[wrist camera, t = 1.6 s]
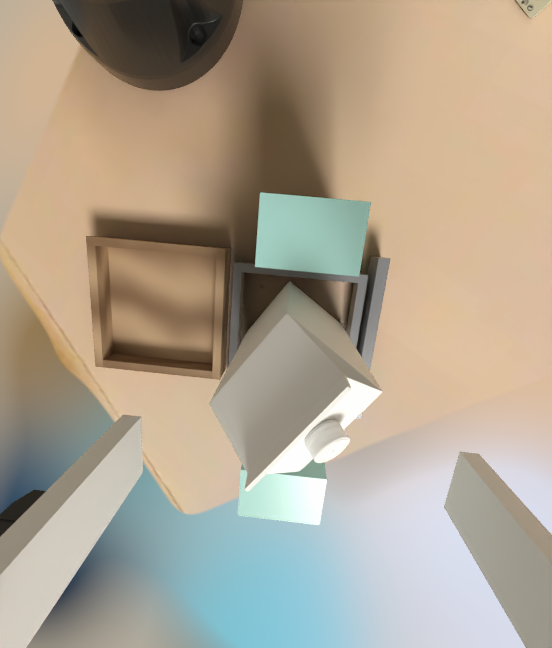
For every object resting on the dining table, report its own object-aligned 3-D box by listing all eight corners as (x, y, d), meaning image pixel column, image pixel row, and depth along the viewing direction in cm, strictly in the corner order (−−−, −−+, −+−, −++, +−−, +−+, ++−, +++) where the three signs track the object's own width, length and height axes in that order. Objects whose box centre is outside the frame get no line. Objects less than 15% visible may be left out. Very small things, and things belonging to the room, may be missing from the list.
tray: (103, 236, 30) (86, 236, 28) (231, 248, 30) (225, 248, 27) (110, 357, 34) (95, 366, 31) (225, 369, 33) (219, 379, 31)
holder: (240, 206, 29) (200, 177, 16) (387, 219, 28) (461, 199, 16) (229, 417, 35) (193, 515, 22) (350, 431, 34) (383, 538, 22)
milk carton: (246, 331, 32) (184, 447, 14) (289, 280, 30) (284, 334, 12) (297, 372, 33) (303, 532, 15) (341, 324, 31) (411, 436, 13)
